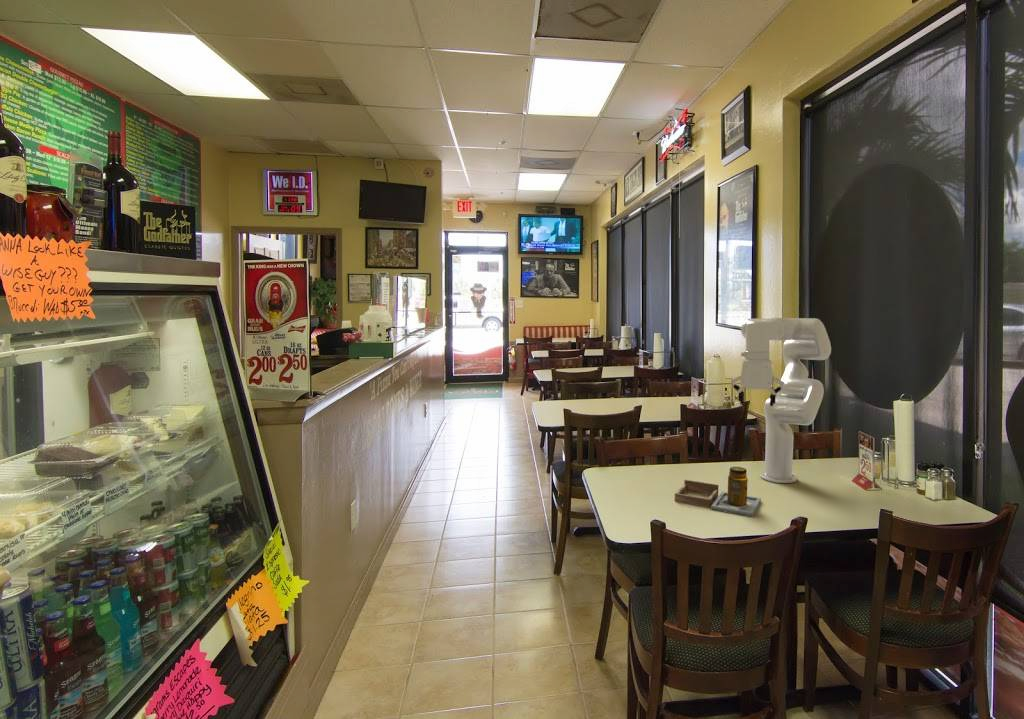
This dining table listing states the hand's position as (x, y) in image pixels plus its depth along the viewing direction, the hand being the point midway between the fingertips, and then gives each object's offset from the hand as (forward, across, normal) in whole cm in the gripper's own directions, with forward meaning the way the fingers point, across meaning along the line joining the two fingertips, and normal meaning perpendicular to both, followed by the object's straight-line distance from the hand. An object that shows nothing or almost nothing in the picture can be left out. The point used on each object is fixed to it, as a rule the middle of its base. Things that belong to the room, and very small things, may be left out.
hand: (756, 404), depth 192 cm
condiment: (+31, -4, -18) cm, 36 cm away
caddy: (+31, -16, -18) cm, 39 cm away
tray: (+31, -3, -18) cm, 36 cm away
